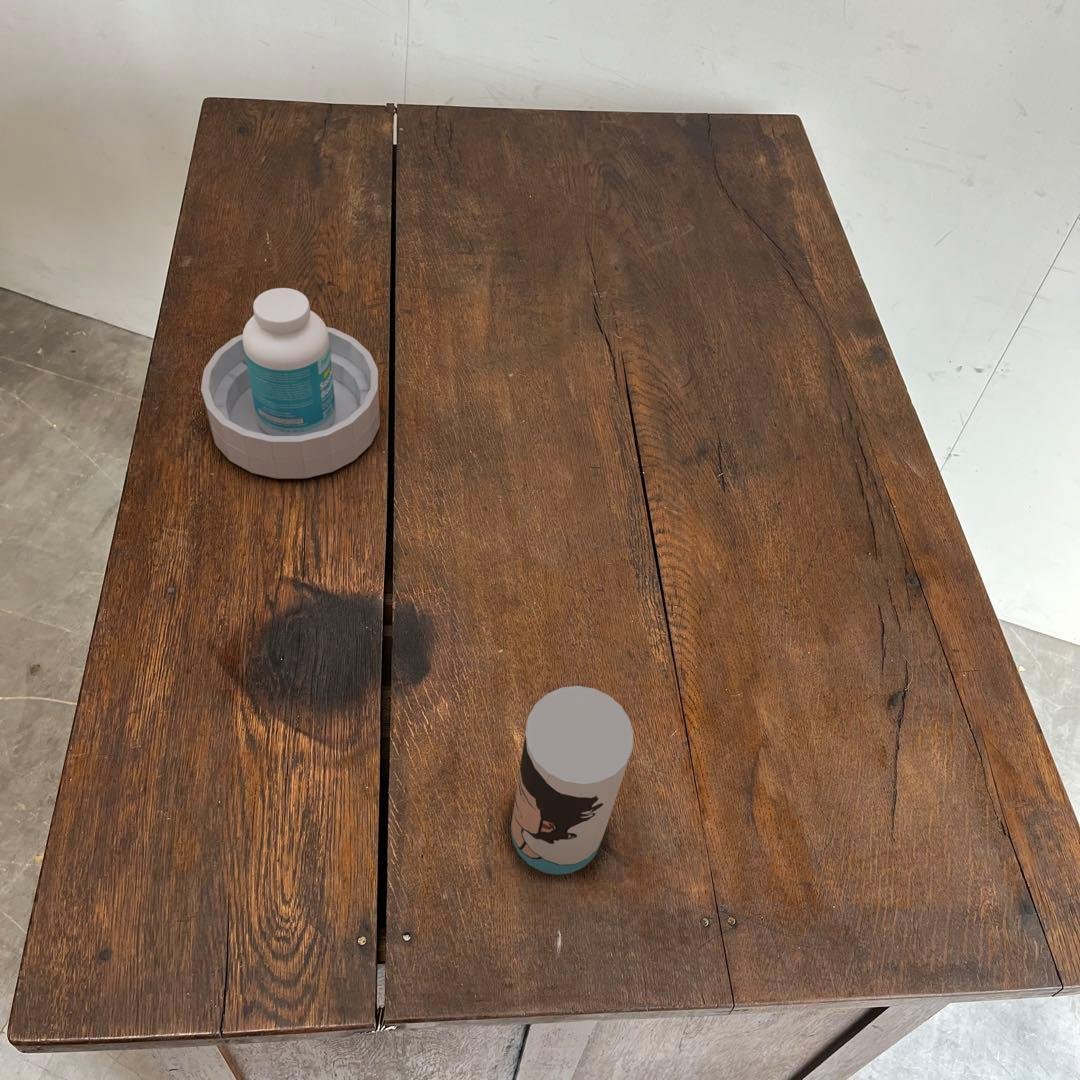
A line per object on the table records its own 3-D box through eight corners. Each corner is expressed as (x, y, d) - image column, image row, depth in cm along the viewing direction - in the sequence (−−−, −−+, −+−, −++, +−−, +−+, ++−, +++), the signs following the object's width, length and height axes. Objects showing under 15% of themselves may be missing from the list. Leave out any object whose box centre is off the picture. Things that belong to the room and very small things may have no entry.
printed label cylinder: (565, 770, 78) (588, 668, 67) (620, 840, 75) (655, 746, 64) (492, 818, 76) (504, 720, 64) (547, 893, 72) (569, 804, 61)
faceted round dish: (202, 484, 93) (191, 442, 89) (220, 365, 103) (211, 321, 98) (379, 482, 95) (377, 441, 90) (380, 365, 104) (378, 323, 100)
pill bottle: (343, 438, 97) (333, 326, 86) (263, 452, 95) (243, 339, 84) (328, 384, 101) (316, 272, 91) (251, 397, 99) (230, 283, 89)
